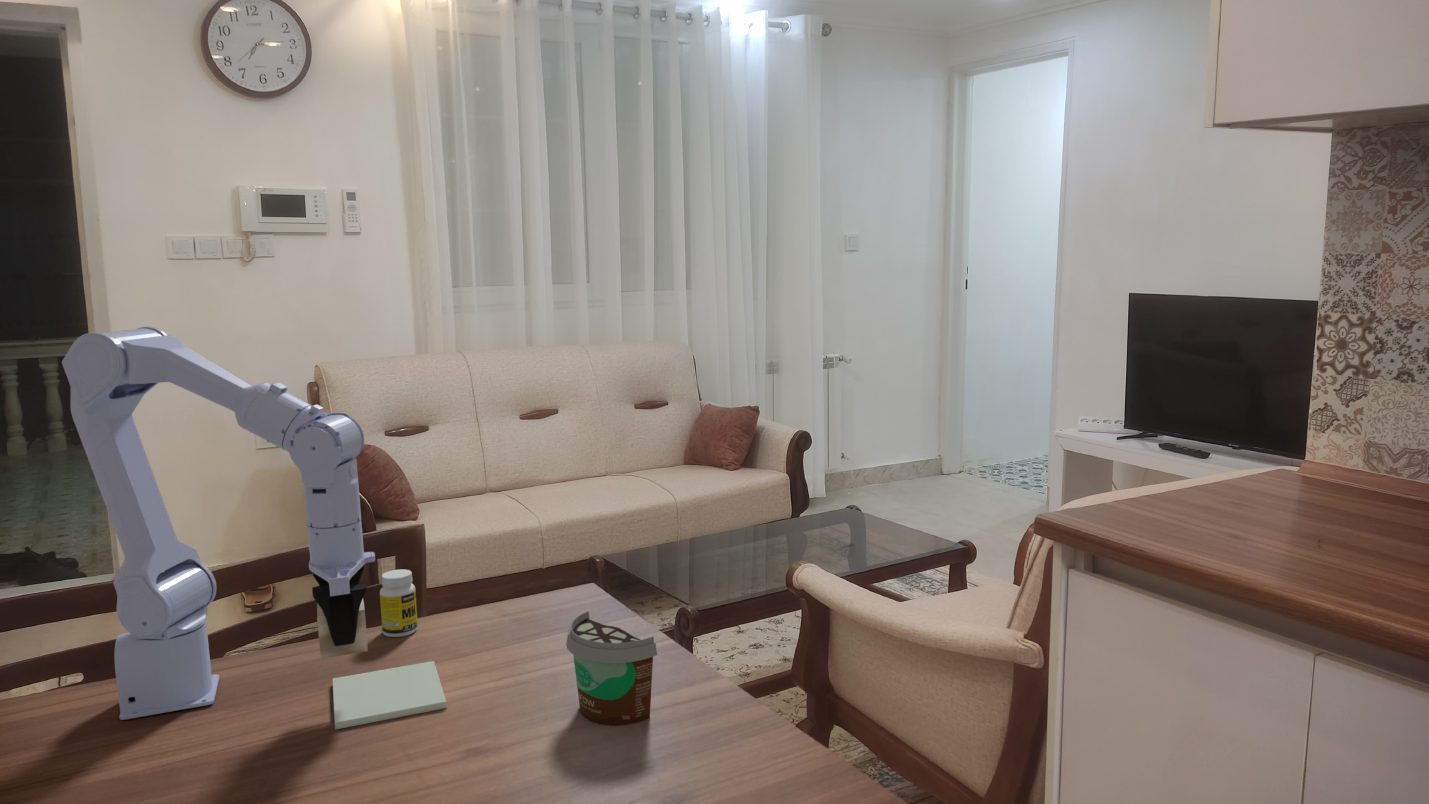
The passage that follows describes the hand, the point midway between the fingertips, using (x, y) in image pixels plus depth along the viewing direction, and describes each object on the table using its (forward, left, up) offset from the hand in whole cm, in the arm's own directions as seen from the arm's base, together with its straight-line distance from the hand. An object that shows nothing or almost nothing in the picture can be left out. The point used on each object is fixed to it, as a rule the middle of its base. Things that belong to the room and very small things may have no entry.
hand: (343, 634), depth 108 cm
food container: (+26, -15, -9) cm, 32 cm away
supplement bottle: (+7, +20, -9) cm, 23 cm away
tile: (+4, 0, -9) cm, 10 cm away
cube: (0, 0, -1) cm, 1 cm away
